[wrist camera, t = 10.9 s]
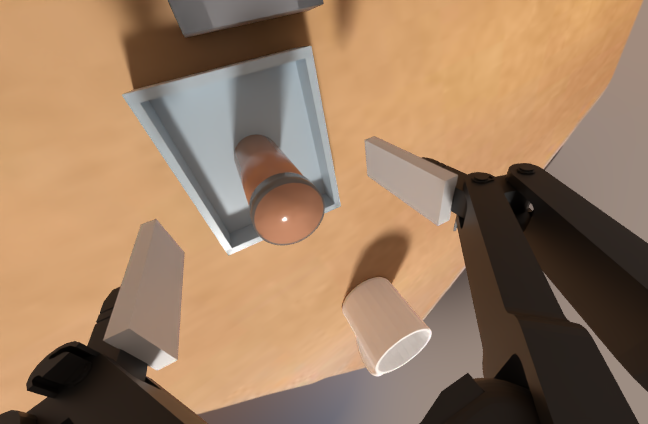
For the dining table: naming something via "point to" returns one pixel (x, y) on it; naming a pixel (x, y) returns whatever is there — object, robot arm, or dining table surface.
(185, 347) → the dining table surface
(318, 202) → the fuse
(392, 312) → the mug
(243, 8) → the block
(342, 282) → the dining table surface
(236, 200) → the parts tray
